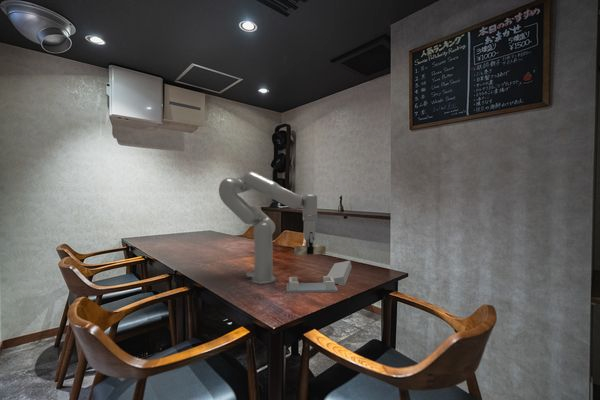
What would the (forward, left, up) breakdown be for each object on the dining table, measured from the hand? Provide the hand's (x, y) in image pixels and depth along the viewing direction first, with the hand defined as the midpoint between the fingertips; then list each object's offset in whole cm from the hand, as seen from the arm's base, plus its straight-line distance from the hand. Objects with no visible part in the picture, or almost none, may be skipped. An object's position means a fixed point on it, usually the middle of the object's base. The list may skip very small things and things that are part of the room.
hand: (309, 252), depth 136 cm
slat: (0, 0, -1) cm, 1 cm away
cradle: (0, -10, -15) cm, 18 cm away
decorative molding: (+18, +11, -16) cm, 27 cm away
